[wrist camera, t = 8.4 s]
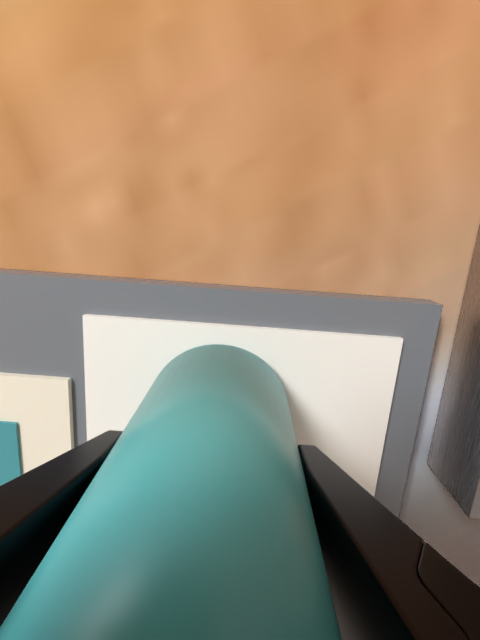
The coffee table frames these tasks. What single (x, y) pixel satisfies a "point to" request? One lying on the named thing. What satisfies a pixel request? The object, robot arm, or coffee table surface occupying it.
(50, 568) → the marker
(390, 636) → the robot arm
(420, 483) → the coffee table surface
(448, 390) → the button housing
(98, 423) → the drawing board
